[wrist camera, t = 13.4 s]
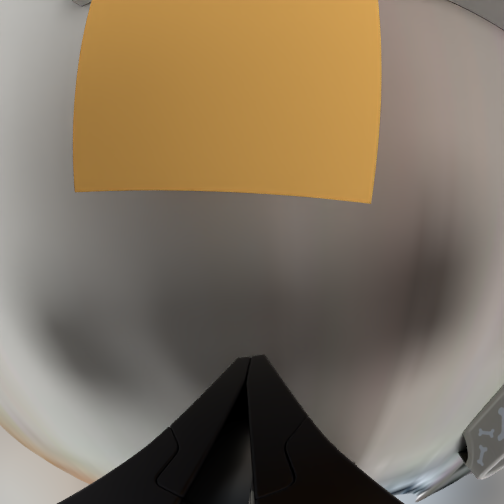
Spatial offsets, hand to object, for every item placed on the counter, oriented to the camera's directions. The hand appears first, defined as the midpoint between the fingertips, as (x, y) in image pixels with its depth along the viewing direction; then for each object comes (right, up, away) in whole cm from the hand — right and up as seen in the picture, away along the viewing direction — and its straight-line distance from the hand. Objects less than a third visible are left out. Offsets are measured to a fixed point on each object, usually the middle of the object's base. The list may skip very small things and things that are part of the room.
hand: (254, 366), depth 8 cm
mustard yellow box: (-1, +8, -1) cm, 8 cm away
